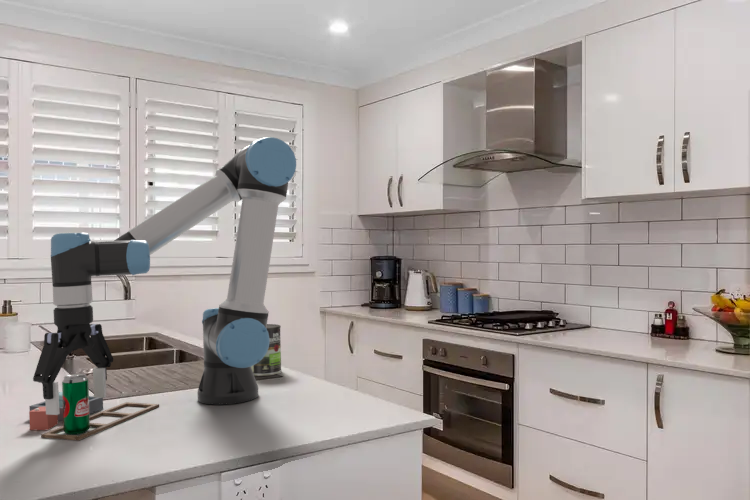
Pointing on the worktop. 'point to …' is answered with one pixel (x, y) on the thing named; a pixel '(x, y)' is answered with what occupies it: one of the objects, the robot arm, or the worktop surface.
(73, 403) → the soda can
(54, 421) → the red cube
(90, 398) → the grey tray
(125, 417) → the track
